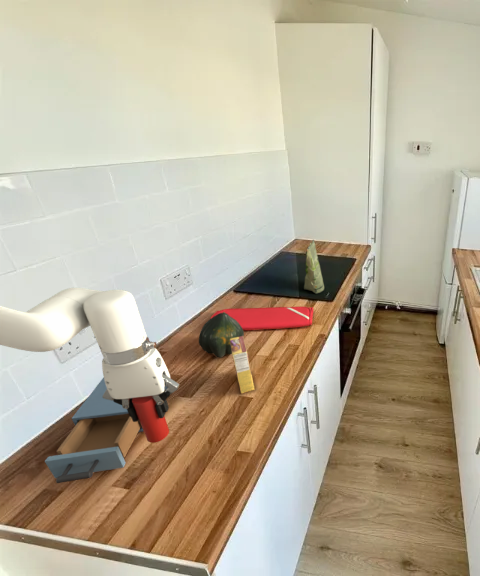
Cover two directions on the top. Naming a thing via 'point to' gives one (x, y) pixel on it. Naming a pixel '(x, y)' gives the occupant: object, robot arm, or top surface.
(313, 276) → the pale green cone
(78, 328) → the robot arm
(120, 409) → the cabinet
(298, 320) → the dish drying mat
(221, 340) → the squash
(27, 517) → the top surface
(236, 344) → the candy box
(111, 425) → the drawer
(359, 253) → the top surface
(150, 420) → the tin
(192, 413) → the top surface
